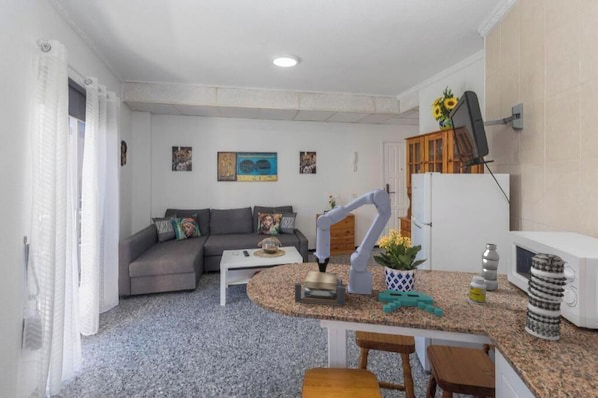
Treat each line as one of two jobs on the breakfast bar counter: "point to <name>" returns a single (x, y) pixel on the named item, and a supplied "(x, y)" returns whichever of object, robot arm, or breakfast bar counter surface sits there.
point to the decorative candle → (545, 296)
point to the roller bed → (339, 299)
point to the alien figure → (407, 301)
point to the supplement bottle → (477, 290)
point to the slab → (321, 280)
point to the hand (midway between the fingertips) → (322, 274)
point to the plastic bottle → (490, 267)
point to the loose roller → (320, 293)
